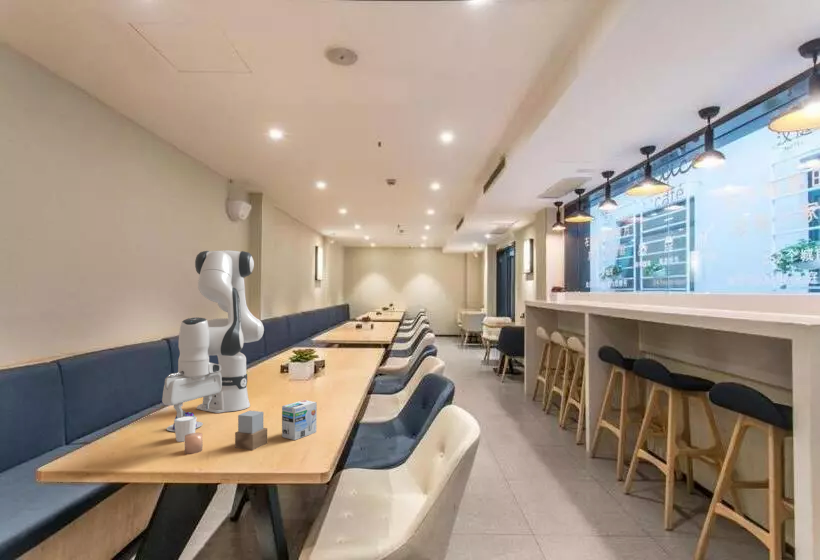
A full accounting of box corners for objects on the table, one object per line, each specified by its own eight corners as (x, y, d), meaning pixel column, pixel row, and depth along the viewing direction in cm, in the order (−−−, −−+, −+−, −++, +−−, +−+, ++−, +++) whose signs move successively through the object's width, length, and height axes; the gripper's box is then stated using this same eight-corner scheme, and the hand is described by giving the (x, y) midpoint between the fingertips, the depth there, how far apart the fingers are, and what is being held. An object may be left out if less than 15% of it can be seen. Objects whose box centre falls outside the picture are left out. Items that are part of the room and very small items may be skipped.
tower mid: (238, 432, 139) (238, 415, 139) (249, 427, 144) (249, 410, 144) (252, 433, 137) (252, 416, 137) (263, 428, 142) (263, 411, 143)
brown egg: (180, 453, 134) (180, 436, 135) (193, 447, 139) (193, 431, 139) (193, 454, 133) (193, 438, 133) (205, 449, 137) (205, 433, 138)
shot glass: (173, 443, 143) (173, 422, 143) (174, 437, 149) (174, 417, 149) (196, 440, 146) (196, 419, 146) (196, 434, 152) (196, 414, 152)
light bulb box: (294, 440, 144) (294, 408, 145) (281, 437, 148) (281, 405, 148) (317, 432, 154) (317, 401, 154) (303, 429, 157) (303, 399, 157)
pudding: (183, 422, 168) (183, 408, 168) (209, 424, 165) (209, 410, 165) (158, 432, 156) (158, 417, 156) (186, 434, 153) (186, 419, 153)
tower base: (235, 448, 138) (235, 432, 139) (250, 441, 145) (250, 426, 145) (252, 450, 136) (252, 434, 136) (267, 443, 143) (267, 428, 143)
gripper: (173, 375, 126) (172, 423, 125) (225, 365, 145) (224, 406, 144) (157, 374, 128) (156, 421, 127) (210, 364, 147) (210, 405, 146)
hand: (193, 413), depth 136 cm, fingers open, 8 cm apart
